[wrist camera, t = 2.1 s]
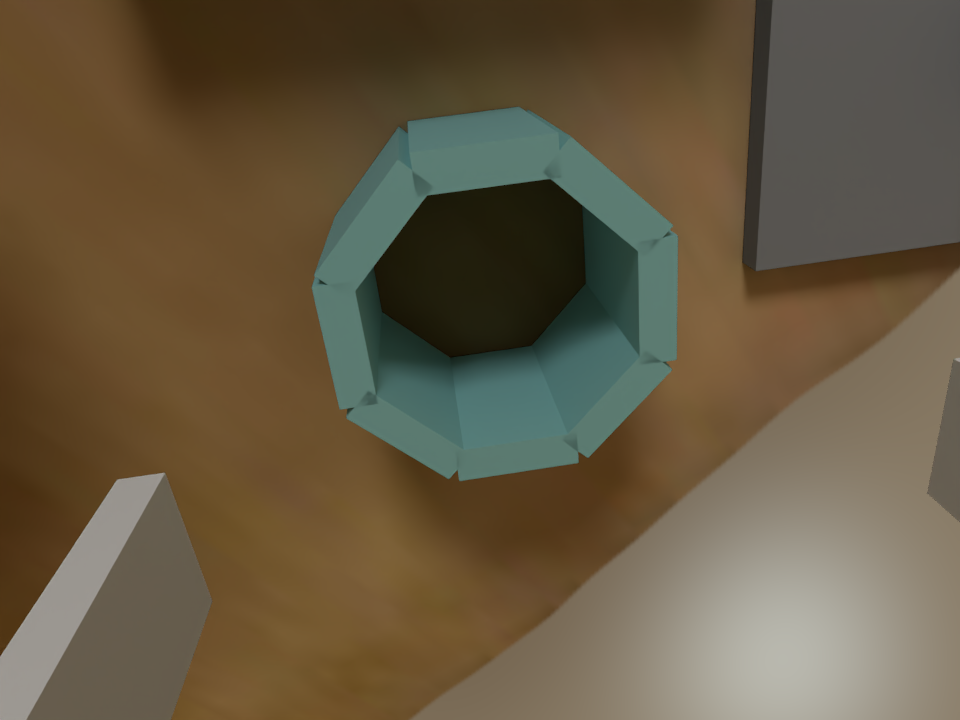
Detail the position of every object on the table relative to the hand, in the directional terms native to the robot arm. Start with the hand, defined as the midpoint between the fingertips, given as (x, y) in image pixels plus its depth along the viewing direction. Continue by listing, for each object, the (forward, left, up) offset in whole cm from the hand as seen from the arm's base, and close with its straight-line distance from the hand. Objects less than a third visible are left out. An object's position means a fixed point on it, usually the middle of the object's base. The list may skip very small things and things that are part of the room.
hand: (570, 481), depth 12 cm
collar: (0, 0, -13) cm, 13 cm away
